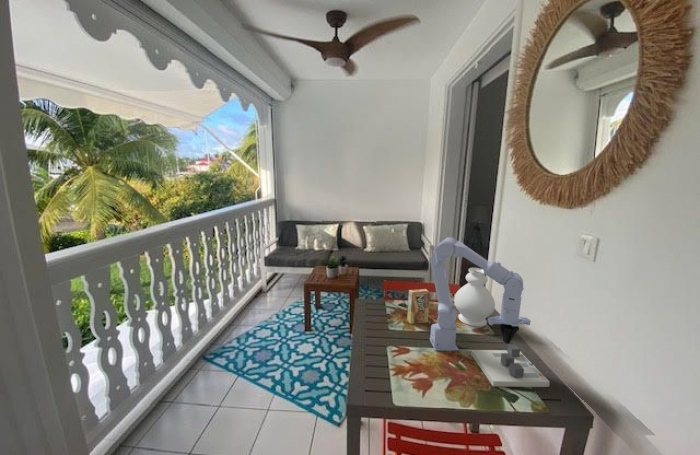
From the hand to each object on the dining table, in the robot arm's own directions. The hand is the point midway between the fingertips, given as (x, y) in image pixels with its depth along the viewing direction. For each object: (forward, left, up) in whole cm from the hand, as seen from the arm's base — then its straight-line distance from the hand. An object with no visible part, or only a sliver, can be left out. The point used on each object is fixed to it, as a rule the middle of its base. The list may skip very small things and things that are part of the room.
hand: (506, 342), depth 104 cm
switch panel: (-1, -4, -8) cm, 9 cm away
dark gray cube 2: (-1, -4, -6) cm, 7 cm away
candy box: (-25, +30, -9) cm, 40 cm away
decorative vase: (+2, +32, -9) cm, 33 cm away
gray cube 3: (-1, -9, -6) cm, 11 cm away
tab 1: (+4, +2, -6) cm, 8 cm away
